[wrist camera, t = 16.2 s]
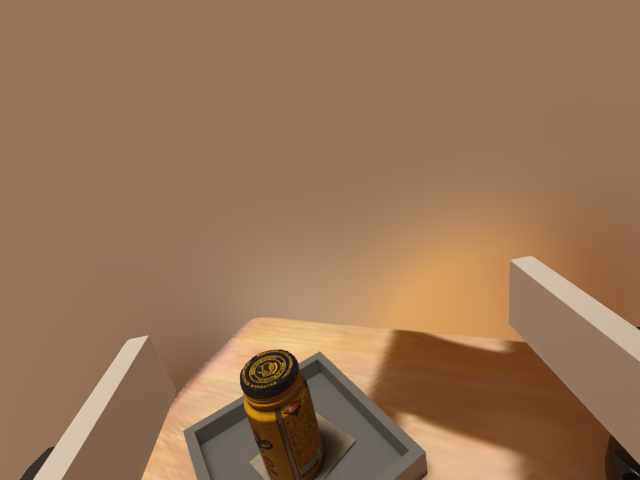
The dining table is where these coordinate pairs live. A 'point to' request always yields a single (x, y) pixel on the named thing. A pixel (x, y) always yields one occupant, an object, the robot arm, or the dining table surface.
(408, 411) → the dining table surface
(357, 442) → the tray
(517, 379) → the dining table surface
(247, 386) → the condiment
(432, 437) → the dining table surface
